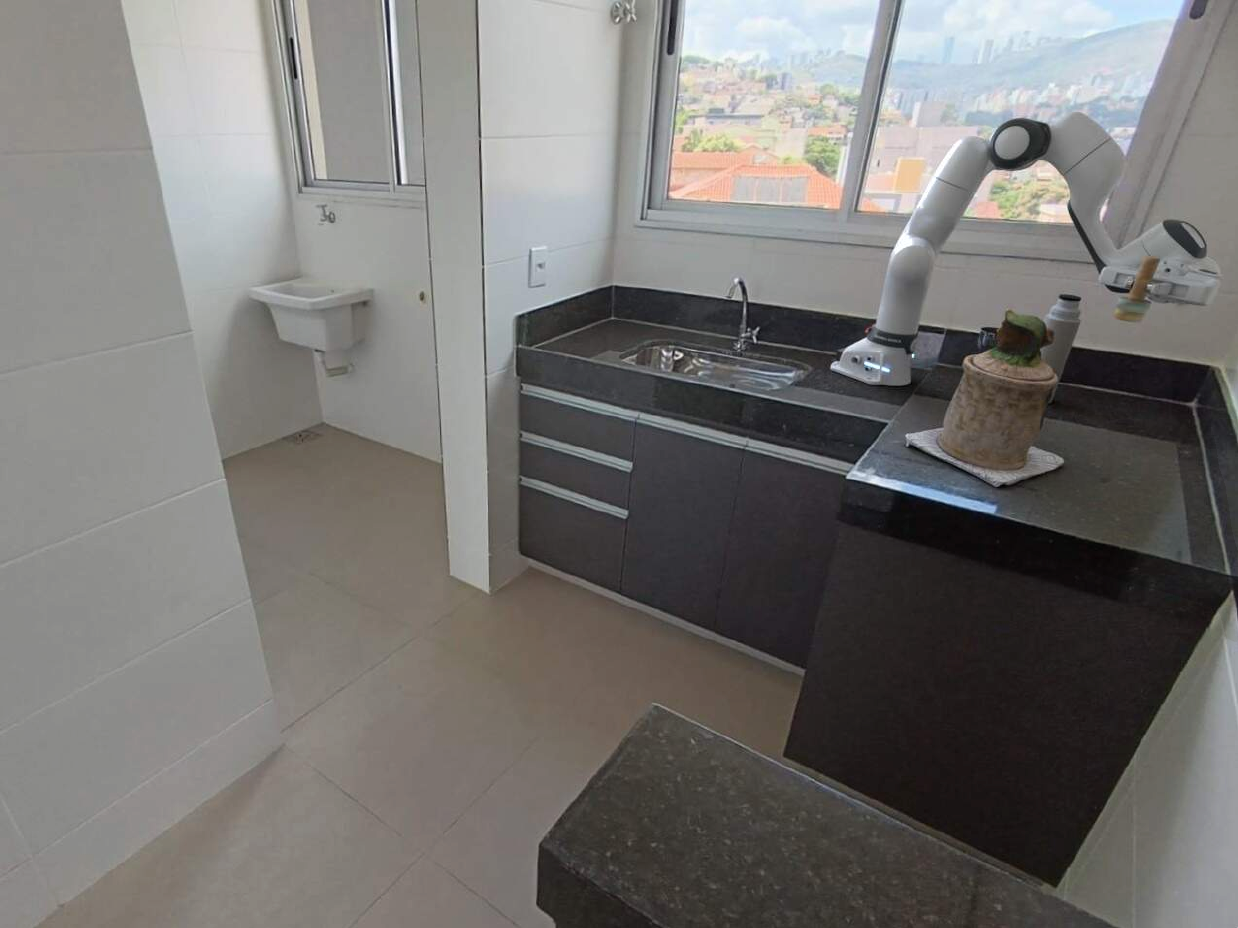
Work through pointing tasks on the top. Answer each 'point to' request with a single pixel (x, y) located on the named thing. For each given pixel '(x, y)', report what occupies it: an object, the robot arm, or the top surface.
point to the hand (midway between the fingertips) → (1138, 286)
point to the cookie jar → (999, 408)
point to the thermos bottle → (1061, 333)
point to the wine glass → (987, 339)
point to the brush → (1137, 293)
